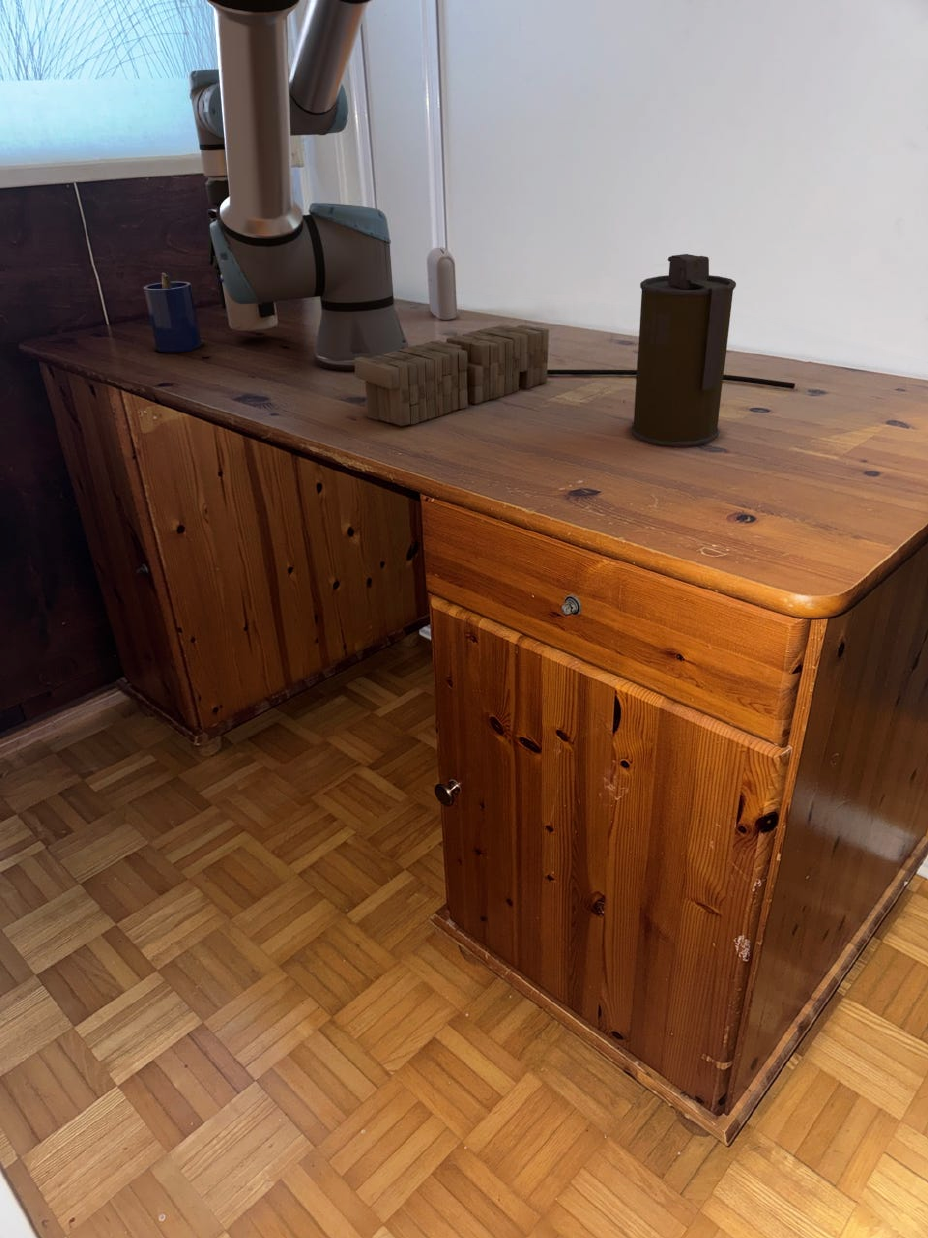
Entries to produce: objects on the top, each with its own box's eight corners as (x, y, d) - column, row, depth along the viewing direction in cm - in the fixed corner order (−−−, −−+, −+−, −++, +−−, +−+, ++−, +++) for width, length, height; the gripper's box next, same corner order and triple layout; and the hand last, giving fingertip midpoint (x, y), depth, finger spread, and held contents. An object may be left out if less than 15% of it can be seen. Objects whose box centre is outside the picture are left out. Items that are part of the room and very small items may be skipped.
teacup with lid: (288, 326, 157) (279, 256, 151) (241, 334, 152) (230, 263, 146) (258, 316, 165) (248, 250, 159) (213, 324, 160) (201, 256, 155)
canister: (614, 428, 108) (623, 255, 98) (684, 414, 112) (699, 247, 102) (666, 454, 100) (681, 268, 90) (739, 438, 103) (762, 258, 93)
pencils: (190, 343, 156) (177, 272, 150) (173, 346, 154) (159, 275, 148) (184, 341, 158) (170, 271, 152) (166, 344, 156) (152, 274, 150)
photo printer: (427, 311, 175) (423, 245, 169) (448, 309, 176) (445, 243, 170) (437, 321, 167) (434, 252, 160) (459, 319, 167) (456, 250, 161)
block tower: (510, 379, 133) (356, 418, 115) (510, 322, 128) (351, 353, 111) (548, 388, 127) (393, 431, 110) (550, 328, 123) (390, 363, 106)
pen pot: (209, 346, 156) (198, 284, 150) (169, 354, 151) (156, 291, 146) (188, 340, 161) (176, 280, 155) (149, 348, 156) (135, 286, 151)
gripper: (287, 177, 141) (304, 316, 152) (210, 174, 156) (231, 300, 167) (246, 181, 137) (267, 324, 148) (172, 177, 152) (196, 306, 163)
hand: (248, 311), depth 157 cm, fingers closed on teacup with lid, 12 cm apart
